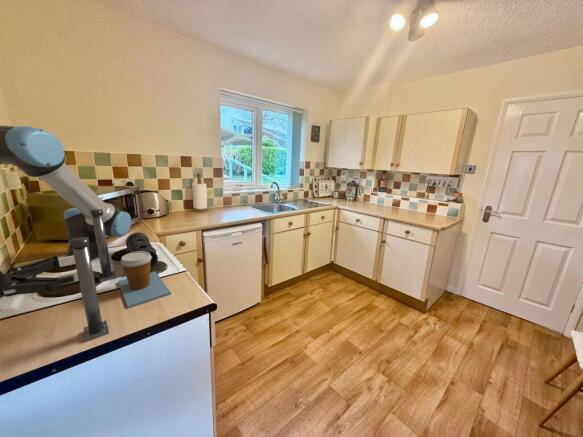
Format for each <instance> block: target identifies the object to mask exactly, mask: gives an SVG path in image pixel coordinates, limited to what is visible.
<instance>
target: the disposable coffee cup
mask: <svg viewBox="0 0 583 437" xmlns="http://www.w3.org/2000/svg"><path fill="white" fill-rule="evenodd" d="M151 258H152V256H151V255H150V253H149V252H145V251H138V252H132V253H126V254H124V255H122V256H121V260H120V264H121V266H122V267H123V271H124V274H125V277H126V279H127V280H128V283H129V286H130V289H132V290H140V289H143V288H146V287H147V286H149V284H150V273H151V269H150V261H151Z"/></svg>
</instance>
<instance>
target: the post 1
mask: <svg viewBox="0 0 583 437" xmlns="http://www.w3.org/2000/svg"><path fill="white" fill-rule="evenodd" d="M69 242H70V247H71V248H72V249H73V254H74V259H75V264H74V265H75V268H76V271H77V274H78V279H79V281H78V283H79V289H80V293H81V297H82V299H81V300H82V303H83V308H84V314H85V318H86V323H87V326H85V327H83V334H84V342H85V343H87V342H90V341H92V340H95V339H98V338H100V337H103V336H105V335H108V334H110V331H109V330H110V329H109V326H108V323H107V320H106V319H105V320H103V319H102V315H101V309H100V304H99V297H98V292H97V286H96V281H95V280H96V279H95V276H94V270H93V264H92V259H91V258H90V253H89V247H88V245H89V238H88V237H79V238H74V239H71V240H69V239H68V243H69Z"/></svg>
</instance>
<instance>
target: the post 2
mask: <svg viewBox="0 0 583 437" xmlns="http://www.w3.org/2000/svg"><path fill="white" fill-rule="evenodd" d="M90 213H91V215H92V218H93V224H94V230H95V236H96V242H97V248H98V254H99V257H98V259H99V263H100V266H99V267H100V271H101V273H98V275H97V276H98V280H99V282H100V283H102V282H107V281H111V280H115V279H117V276H116V273H115V270H112V267H111V262H110V260H111V259H110V254H109V247H108V241H107V236H106V234H105V228H104V221H103V215H102V214H103V209H94V210H90Z"/></svg>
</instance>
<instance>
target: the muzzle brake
mask: <svg viewBox="0 0 583 437" xmlns="http://www.w3.org/2000/svg"><path fill="white" fill-rule="evenodd" d="M125 245H126V246H125V247H126V248H127V250H128V252H129V253H132V252H138V251H145V252H149V253H150V255H151V256H152V258H151V261H150V270H151V269H152V268H154V267H156V265H157V263H158V260H159V257H158V254H157V252H156V251H155V249H154V248H153V246H152V243H151V242H150V239H149V237H148V236H147V235H146V234H145V233H142V232H138V231H137V232H133V233H131V234H129V235H128V236H126V240H125ZM129 253H128V254H129Z"/></svg>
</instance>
